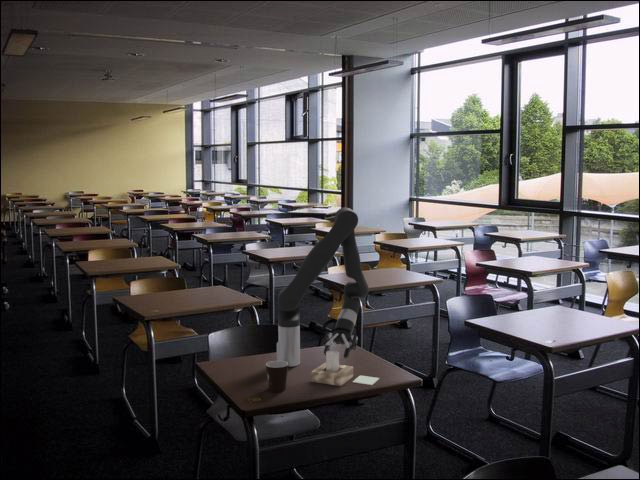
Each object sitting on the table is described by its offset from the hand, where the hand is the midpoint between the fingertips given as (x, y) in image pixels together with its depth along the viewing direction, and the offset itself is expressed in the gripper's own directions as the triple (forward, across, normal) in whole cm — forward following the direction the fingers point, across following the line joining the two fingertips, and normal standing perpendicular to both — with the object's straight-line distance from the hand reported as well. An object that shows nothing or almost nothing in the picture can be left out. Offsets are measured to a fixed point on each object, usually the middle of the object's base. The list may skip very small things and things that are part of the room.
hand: (335, 356), depth 260 cm
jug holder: (+8, 0, +4) cm, 9 cm away
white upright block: (+9, 0, +4) cm, 9 cm away
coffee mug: (+21, -15, -8) cm, 27 cm away
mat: (+6, +13, +7) cm, 16 cm away
